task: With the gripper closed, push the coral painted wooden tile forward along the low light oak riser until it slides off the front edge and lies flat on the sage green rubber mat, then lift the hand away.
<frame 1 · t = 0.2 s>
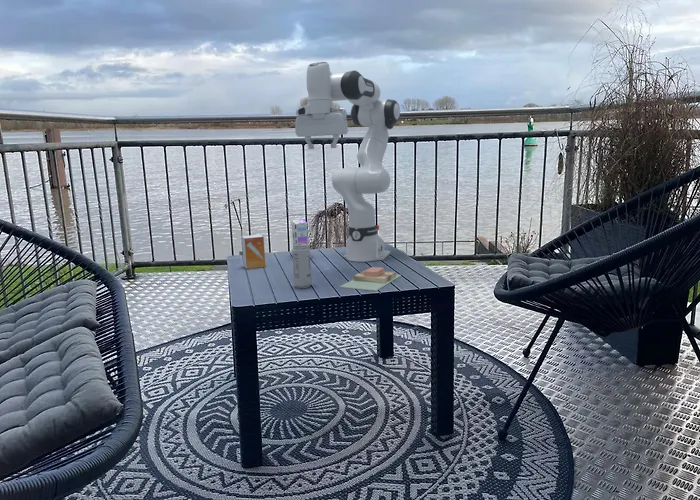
hand: (322, 148, 189), 47 cm above the table, tool pointing down, fingers open, 8 cm apart
mat: (371, 281, 186), on the table
energy drink can: (303, 286, 183), on the table
candy box: (301, 258, 232), on the table
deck: (375, 279, 188), resting on mat
small box: (254, 267, 217), on the table
tile: (374, 274, 188), point 2 cm above the table, touching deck
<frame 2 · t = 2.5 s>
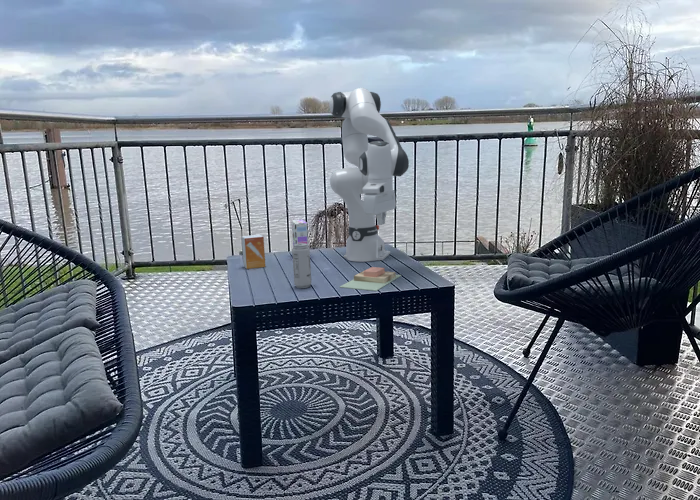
hand: (381, 224, 191), 19 cm above the table, tool pointing down, fingers closed
nothing on the table moved.
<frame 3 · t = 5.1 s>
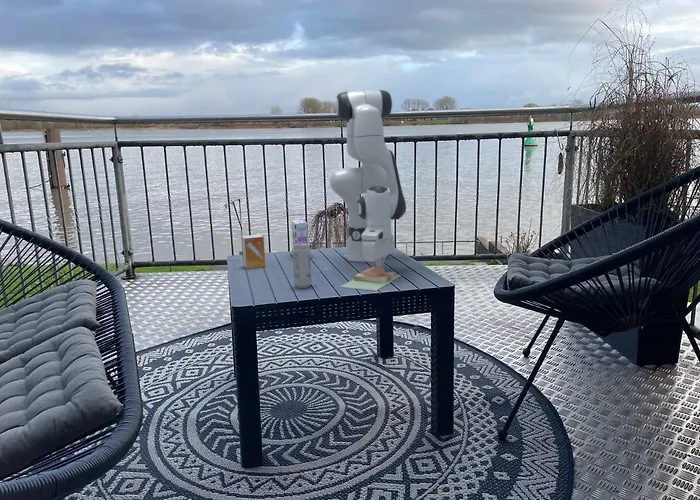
hand: (380, 268, 192), 3 cm above the table, tool pointing down, fingers closed
tile: (374, 274, 187), point 2 cm above the table, touching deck, gripper
everything else where it was.
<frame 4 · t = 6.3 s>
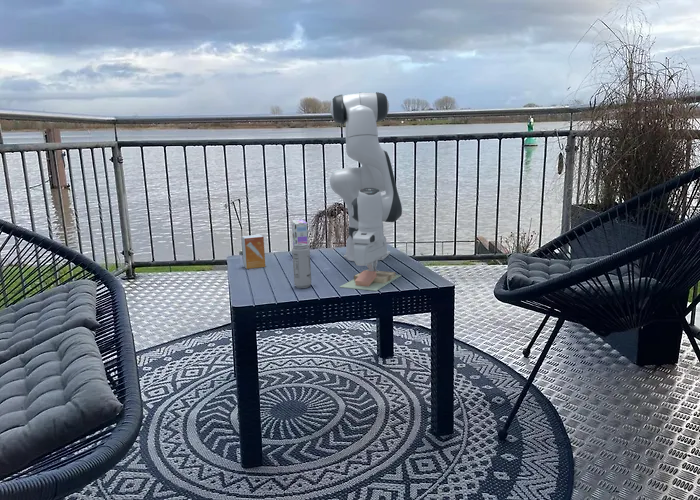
hand: (372, 272, 186), 3 cm above the table, tool pointing down, fingers closed
tile: (366, 280, 182), point 1 cm above the table, tilted 17°, touching gripper
everything else where it was.
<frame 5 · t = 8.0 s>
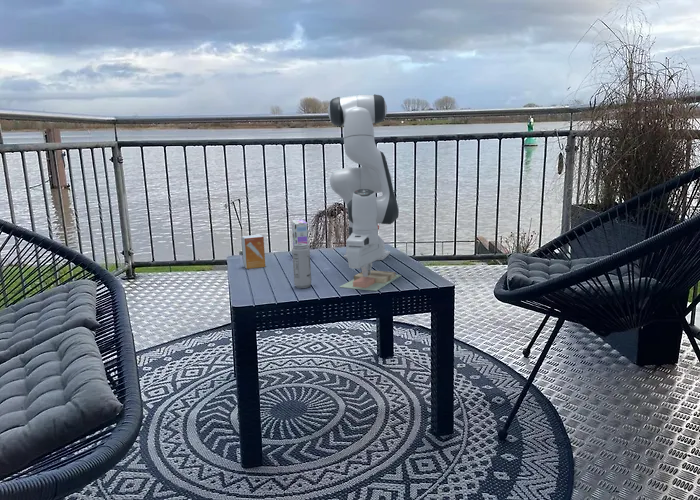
hand: (366, 275, 182), 3 cm above the table, tool pointing down, fingers closed
tile: (364, 284, 181), resting on mat
everything else where it was.
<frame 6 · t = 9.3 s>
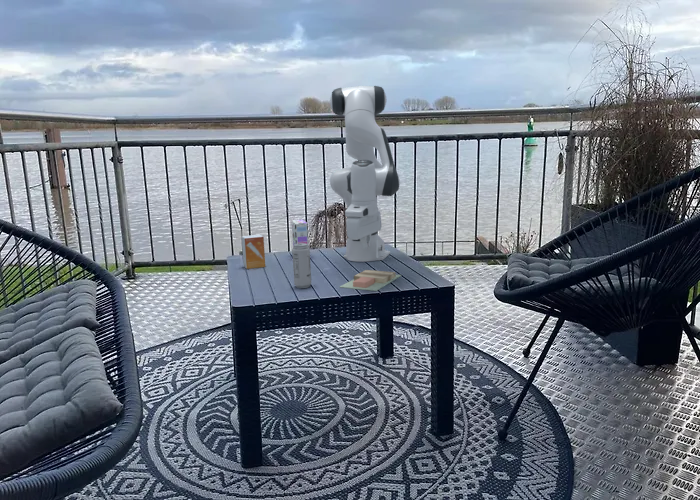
hand: (365, 247, 181), 13 cm above the table, tool pointing down, fingers closed
nothing on the table moved.
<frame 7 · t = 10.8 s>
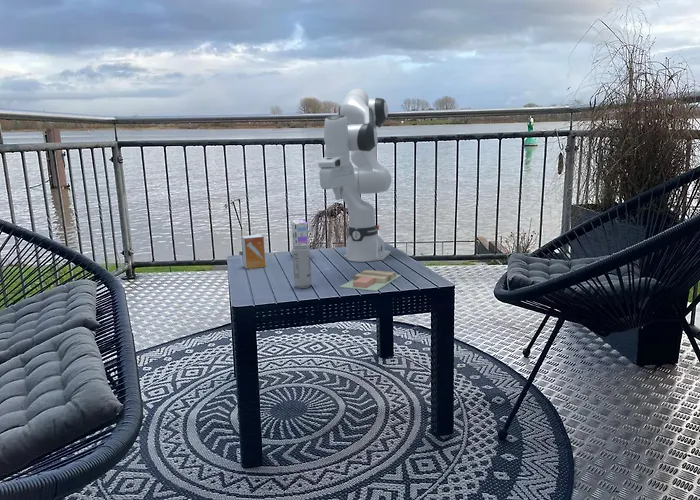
hand: (339, 199, 190), 29 cm above the table, tool pointing down, fingers closed
nothing on the table moved.
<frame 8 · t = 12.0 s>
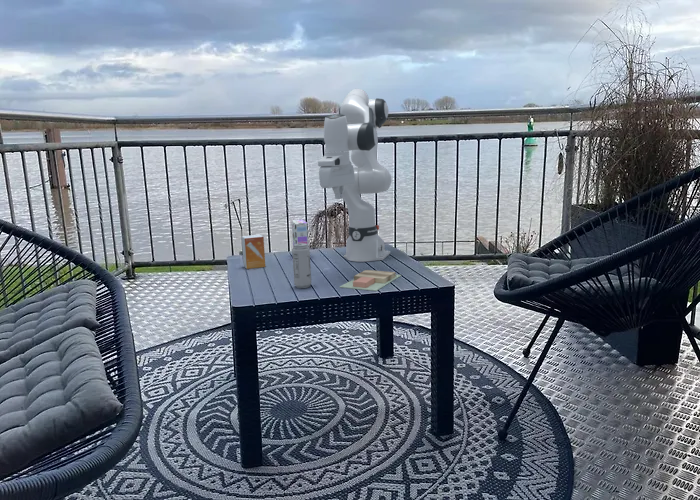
hand: (339, 198, 190), 29 cm above the table, tool pointing down, fingers closed
nothing on the table moved.
at the end: tile resting on mat; tile inside the target area (0.5 cm from its centre), resting on mat; tile tilted 0° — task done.
